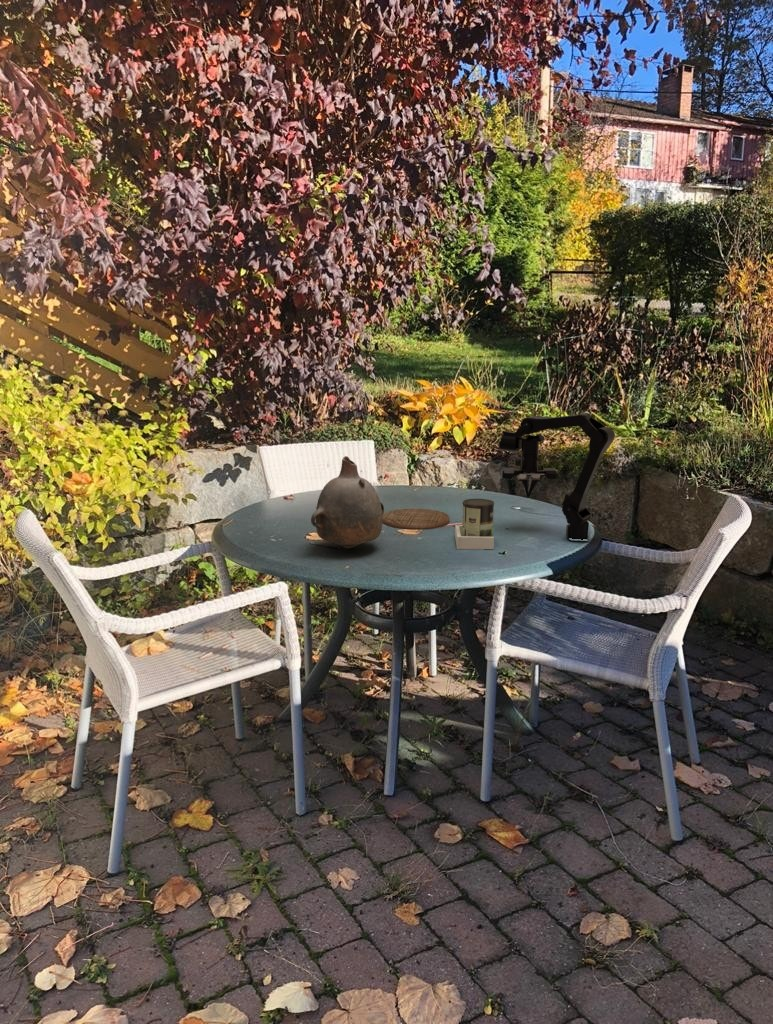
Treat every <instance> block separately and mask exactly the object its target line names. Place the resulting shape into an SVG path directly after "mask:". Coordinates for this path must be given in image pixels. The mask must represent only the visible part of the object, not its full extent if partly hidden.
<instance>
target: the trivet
mask: <svg viewBox="0 0 773 1024" xmlns="http://www.w3.org/2000/svg"><path fill="white" fill-rule="evenodd" d="M449 524H450V515H449V514H447V513H446V512H444V511H440V510H434V509H430V508H429V509H428V508H427V509H426V508H401V509H394V510H389V511H386V512H384V514H383V516H382V525H385V526H388V527H390V528H391V527H392V528H395V529H402V530H409V531H410V530H412V531H413V530H414V531H416V530H418V531H421V530H434V529H439V528H443V527H445V526H447V525H449Z"/></svg>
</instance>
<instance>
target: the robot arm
mask: <svg viewBox="0 0 773 1024" xmlns="http://www.w3.org/2000/svg"><path fill="white" fill-rule="evenodd" d="M519 425H520V426H519V427H518V428H517V429H516V431H509V430H504V431H502V436H501V438H500V440H499V448H500V450H501V451H504V452H506V451H507V452H515V453H518V452H519V451H520V450H521V455H520V456H521V457H520V456H515V457H514V460H513V461H514V464H513V465H514V467H516V468H519V470H516V469H515V470H514V467H502V468H501V469H500V477H501V479H513V478H514V476H515V477H516V478H517V479H518V482H521V484H522V485H523V490H524V493H525V494H524V495H525V497H526V498H530V496H531V494H532V492H533V490H534V487H536V485H537V483H538V482H540V481H541V479H540V477H545V478H547V479H548V480H557V479H558V471H557V470H556V469H555V468H554V467H543V470H538V468H539V467H538V465H539V444H540V442H544V441H546V438H545V437H544V436H542V433H539V432H542V431H546V430H551V429H552V430H553V429H564V428H570V427H571V428H573V427H579V428H580V429H581V430H582V432H584V434H585V435H586V436H587V437H588V438H589V443H588V454H587V456H586V459H585V462H584V464H583V467H582V469H581V471H580V474H579V477H578V479H577V482H576V484H575V486H574V489H573V491H570V492H568V493H565V495H564V498H563V502H562V503H561V504H560V505H561V511H562V513H563V515H564V516H565V520H566V522H567V524H566V526H565V529H566V530H565V536H566V538H567V539H568V538H572V539H581V540H583V539H589V527H590V526H589V525H590V524H589V523H590V522H589V521H590V520H591V518H592V513H591V512H590V511H589V509H587V502H588V492H589V489H590V487H591V485H592V482H593V480H594V477H595V475H596V471H597V469H598V467H599V465H600V463H601V460H602V458H603V456H604V454H605V453H606V452H607V450H608V449H609V448H610V447H611V445H612V443H613V442H614V440H615V439H616V437H615V436H616V434H615V431H614V430H613V429H612V428H611V427H610V426H606V425H604V424H603V423H602V422H601V421H598V420H597V419H595V418H593V416H591V415H590V414H589V413H587V412H583V413H580V414H573V415H571V414H570V415H563V416H561V415H560V416H554V417H553V416H552V417H550V416H549V417H547V416H541V415H531V416H528V417H524V418H523V419H522V420H521V421H520V424H519ZM535 433H537V434H536V435H532V434H535ZM527 476H528V477H529V480H528V478H527ZM528 481H529V482H528Z"/></svg>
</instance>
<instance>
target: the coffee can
mask: <svg viewBox="0 0 773 1024" xmlns="http://www.w3.org/2000/svg"><path fill="white" fill-rule="evenodd" d="M494 507H495V502H494V501H493V500H492V499H487V498H469V499H468V498H467V499H463V500H462V525H463V530H462V536H478V537H494V536H493V535H494V534H493V533H494Z"/></svg>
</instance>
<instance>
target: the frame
mask: <svg viewBox="0 0 773 1024" xmlns="http://www.w3.org/2000/svg"><path fill="white" fill-rule="evenodd" d="M454 527H455V531H454V533H455V534H454V537H455V538H454V539H455V543H456V544H455V546H456V549H457V550H484V549H494V548H495V547H494V546H495V545H494V544H495V537H494V536H493V537H478V536H462V530H463V524H455V526H454Z"/></svg>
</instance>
